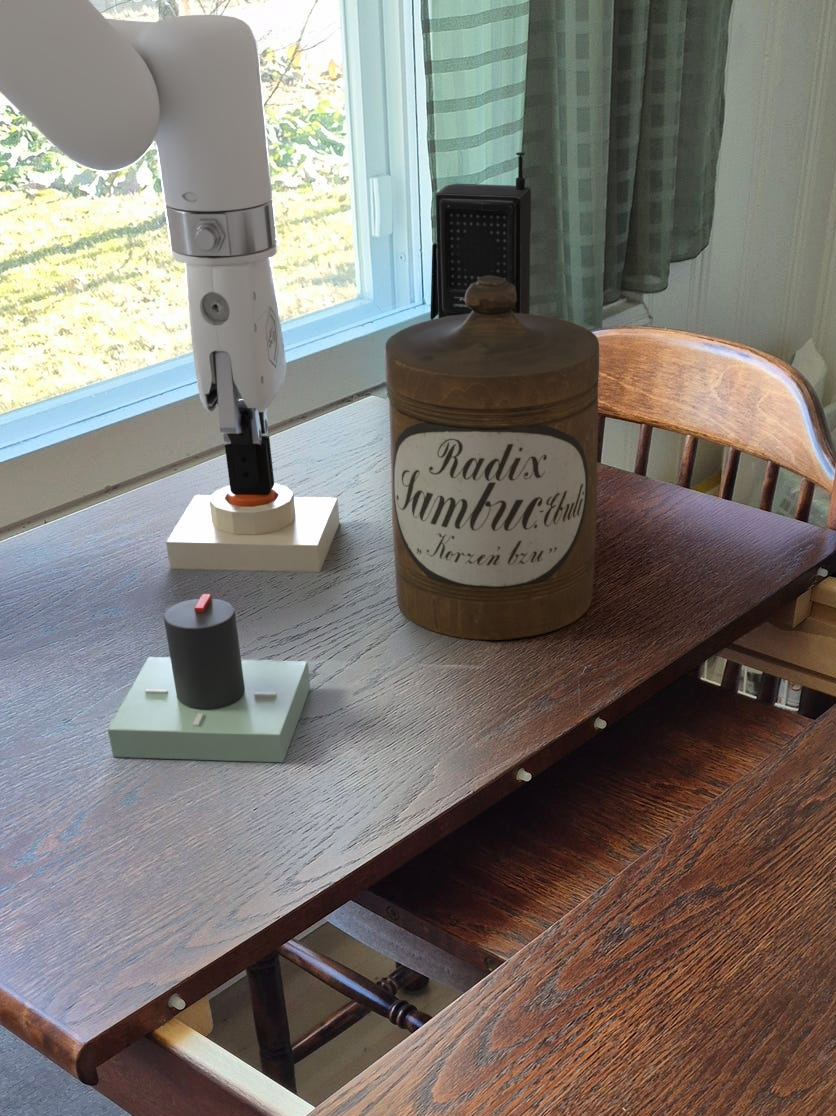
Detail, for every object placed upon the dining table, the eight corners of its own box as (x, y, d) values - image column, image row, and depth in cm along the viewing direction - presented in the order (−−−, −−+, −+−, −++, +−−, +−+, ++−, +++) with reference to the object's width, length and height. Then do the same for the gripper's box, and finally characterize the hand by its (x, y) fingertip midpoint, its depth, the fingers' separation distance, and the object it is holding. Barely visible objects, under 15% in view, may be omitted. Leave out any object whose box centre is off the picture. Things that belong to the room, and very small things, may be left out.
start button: (226, 521, 113) (223, 499, 112) (236, 504, 116) (233, 482, 115) (271, 522, 113) (269, 500, 112) (279, 505, 116) (277, 483, 115)
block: (169, 569, 113) (161, 519, 110) (198, 520, 120) (191, 472, 118) (320, 572, 112) (315, 522, 109) (339, 523, 120) (336, 475, 117)
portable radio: (428, 491, 125) (416, 160, 108) (446, 467, 129) (437, 145, 113) (516, 498, 123) (518, 163, 107) (531, 473, 128) (534, 148, 111)
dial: (236, 710, 91) (225, 624, 87) (169, 708, 91) (154, 622, 88) (251, 678, 94) (240, 594, 91) (186, 676, 95) (173, 592, 91)
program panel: (112, 757, 91) (106, 727, 89) (152, 683, 98) (147, 654, 97) (283, 763, 90) (280, 732, 89) (310, 688, 98) (307, 658, 96)
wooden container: (386, 641, 103) (367, 308, 88) (406, 557, 114) (392, 249, 100) (592, 644, 102) (607, 309, 88) (593, 560, 113) (606, 250, 99)
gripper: (253, 257, 95) (282, 528, 107) (293, 207, 107) (315, 458, 119) (143, 256, 96) (184, 527, 108) (194, 207, 107) (226, 457, 119)
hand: (252, 490), depth 113 cm, fingers closed
